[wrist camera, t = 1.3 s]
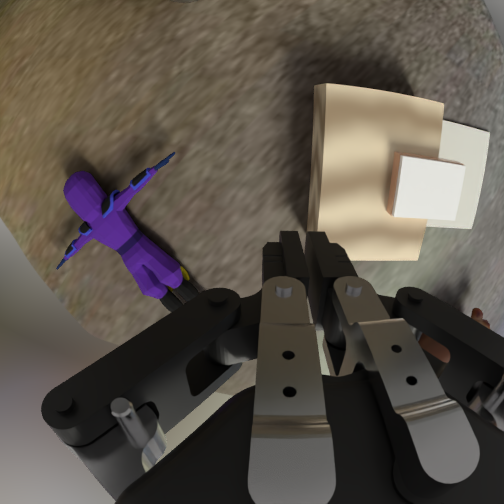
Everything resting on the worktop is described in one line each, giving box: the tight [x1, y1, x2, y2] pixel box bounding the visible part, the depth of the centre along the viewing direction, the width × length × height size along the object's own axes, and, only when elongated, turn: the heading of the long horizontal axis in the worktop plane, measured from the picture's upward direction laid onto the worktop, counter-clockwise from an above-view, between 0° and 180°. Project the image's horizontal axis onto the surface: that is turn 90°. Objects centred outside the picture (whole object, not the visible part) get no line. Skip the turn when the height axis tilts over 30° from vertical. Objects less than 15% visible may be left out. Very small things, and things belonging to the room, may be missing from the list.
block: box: [306, 83, 444, 260], centre depth 34 cm, size 20×14×7 cm
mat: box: [426, 120, 490, 229], centre depth 37 cm, size 16×12×1 cm
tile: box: [386, 151, 466, 221], centre depth 30 cm, size 7×9×2 cm
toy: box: [56, 152, 199, 312], centre depth 42 cm, size 27×6×30 cm
